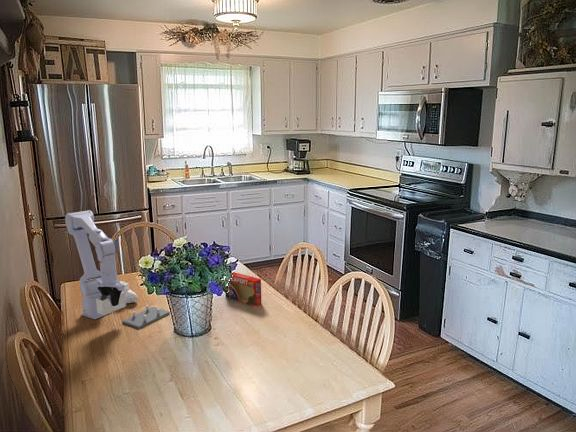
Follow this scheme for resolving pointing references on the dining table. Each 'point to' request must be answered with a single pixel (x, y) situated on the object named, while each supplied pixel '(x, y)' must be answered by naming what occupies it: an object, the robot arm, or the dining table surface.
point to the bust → (129, 293)
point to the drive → (109, 304)
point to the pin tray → (145, 317)
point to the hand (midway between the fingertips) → (111, 304)
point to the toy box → (245, 289)
